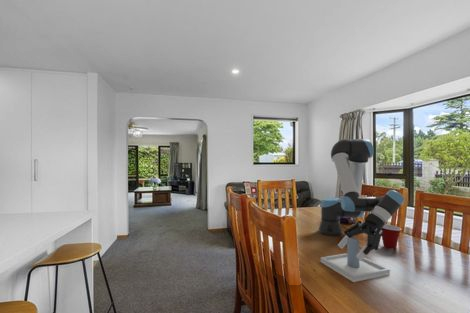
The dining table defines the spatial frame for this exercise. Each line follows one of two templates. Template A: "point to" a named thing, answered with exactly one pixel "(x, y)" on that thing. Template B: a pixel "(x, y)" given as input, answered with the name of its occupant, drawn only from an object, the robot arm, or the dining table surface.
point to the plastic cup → (390, 236)
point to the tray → (364, 272)
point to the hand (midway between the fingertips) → (348, 252)
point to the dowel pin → (352, 252)
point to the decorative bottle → (346, 218)
